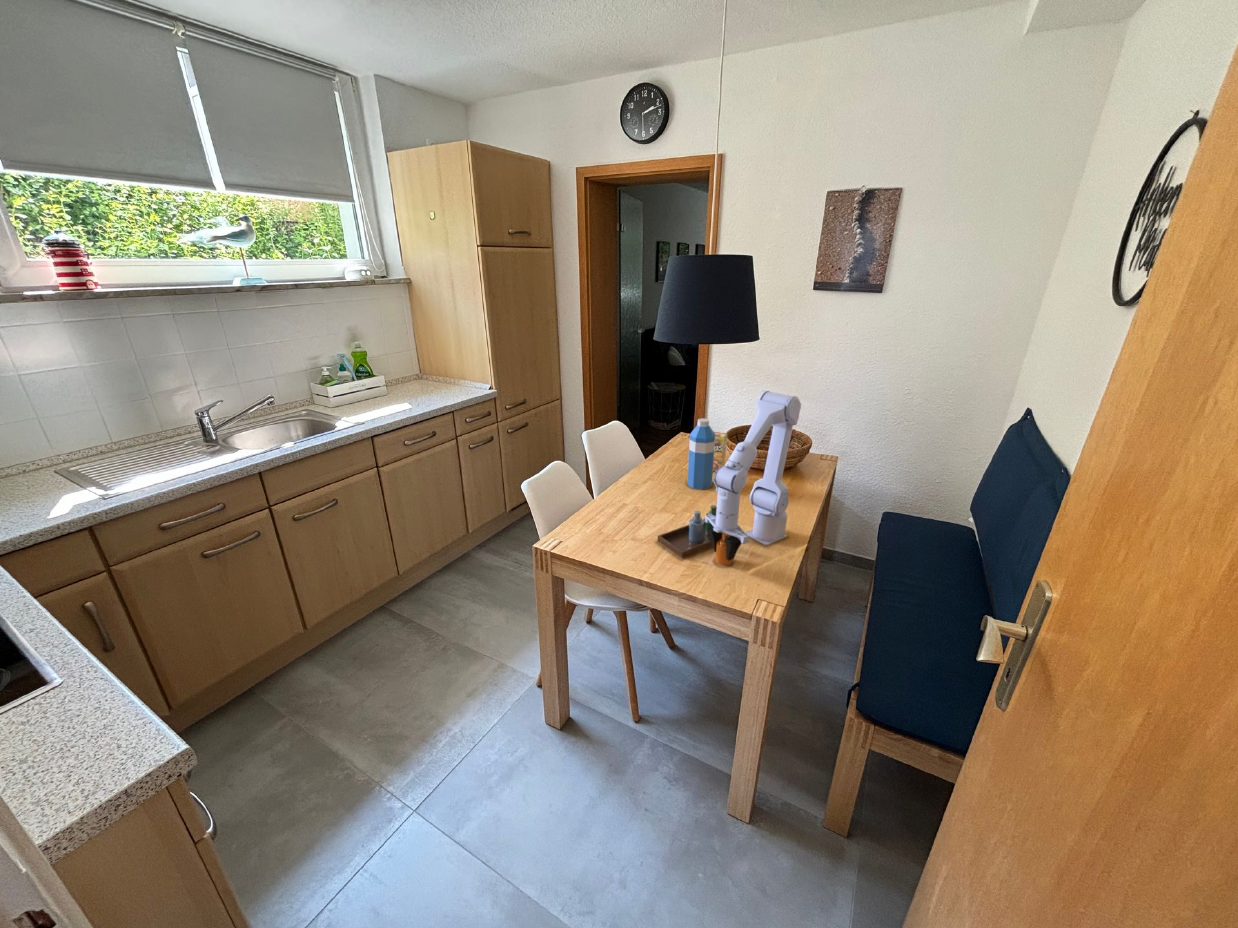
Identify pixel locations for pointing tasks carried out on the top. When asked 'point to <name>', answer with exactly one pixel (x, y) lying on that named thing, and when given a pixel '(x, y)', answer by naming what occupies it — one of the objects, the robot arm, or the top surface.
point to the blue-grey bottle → (696, 528)
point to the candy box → (719, 450)
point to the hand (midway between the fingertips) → (724, 554)
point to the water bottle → (701, 455)
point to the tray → (684, 542)
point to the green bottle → (713, 512)
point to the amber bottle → (722, 551)
